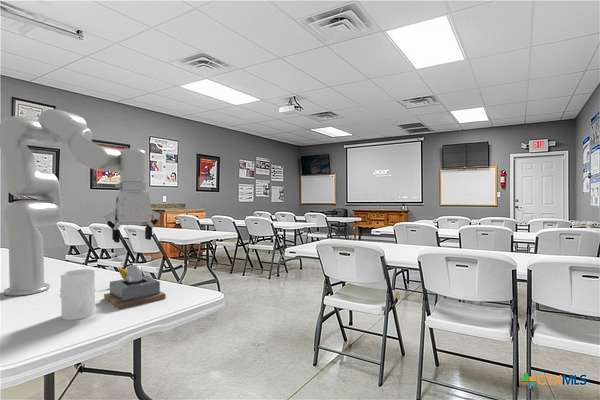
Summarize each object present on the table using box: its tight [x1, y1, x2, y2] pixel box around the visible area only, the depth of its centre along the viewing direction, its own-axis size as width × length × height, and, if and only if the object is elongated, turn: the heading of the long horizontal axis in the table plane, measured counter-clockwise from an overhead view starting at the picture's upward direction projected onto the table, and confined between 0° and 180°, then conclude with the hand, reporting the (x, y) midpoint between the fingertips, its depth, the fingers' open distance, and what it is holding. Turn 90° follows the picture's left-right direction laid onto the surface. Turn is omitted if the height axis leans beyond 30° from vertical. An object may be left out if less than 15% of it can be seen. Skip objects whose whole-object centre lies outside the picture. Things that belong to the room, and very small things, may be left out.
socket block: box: [109, 275, 161, 302], centre depth 112 cm, size 11×11×4 cm
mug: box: [59, 268, 96, 321], centre depth 95 cm, size 8×12×12 cm
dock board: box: [103, 290, 167, 310], centre depth 112 cm, size 14×14×2 cm
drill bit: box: [116, 267, 127, 280], centre depth 129 cm, size 5×5×10 cm
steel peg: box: [126, 264, 143, 285], centre depth 112 cm, size 4×4×9 cm
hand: (132, 240), depth 111 cm, fingers open, 9 cm apart
